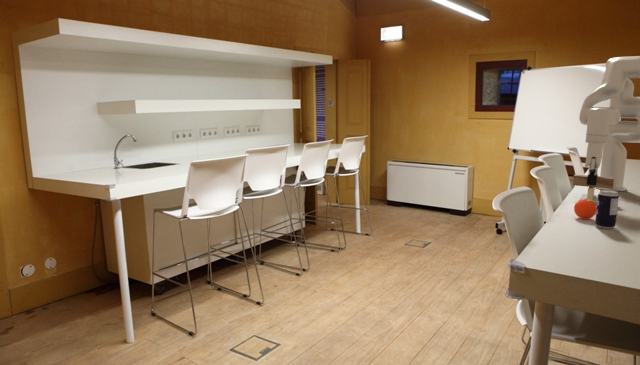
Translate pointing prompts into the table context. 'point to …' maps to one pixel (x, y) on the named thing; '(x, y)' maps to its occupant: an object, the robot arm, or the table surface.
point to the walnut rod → (600, 182)
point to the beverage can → (607, 209)
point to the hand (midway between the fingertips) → (591, 183)
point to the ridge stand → (590, 195)
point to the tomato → (585, 208)
